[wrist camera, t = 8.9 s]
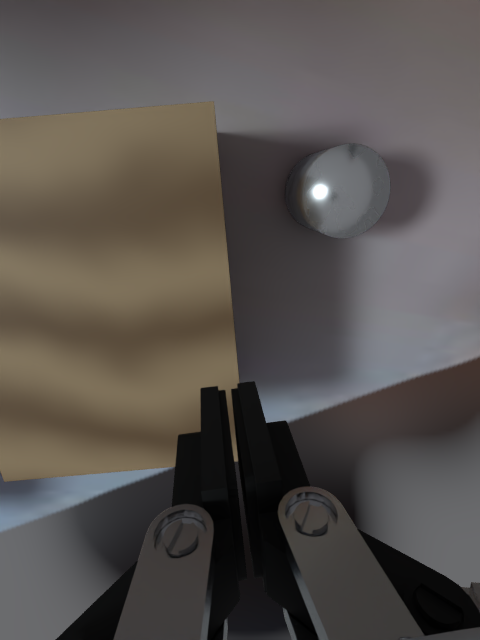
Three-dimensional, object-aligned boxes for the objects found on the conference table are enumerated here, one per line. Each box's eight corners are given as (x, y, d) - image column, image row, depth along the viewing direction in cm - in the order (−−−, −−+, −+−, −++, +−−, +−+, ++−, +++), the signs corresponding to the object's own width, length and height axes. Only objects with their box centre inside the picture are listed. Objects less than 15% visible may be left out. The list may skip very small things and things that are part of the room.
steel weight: (283, 155, 29) (302, 147, 23) (357, 149, 29) (393, 140, 23) (286, 231, 31) (303, 242, 25) (354, 225, 31) (387, 234, 25)
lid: (-122, 132, 18) (-136, 130, 18) (214, 104, 18) (213, 101, 18) (10, 473, 26) (4, 481, 25) (245, 452, 26) (246, 460, 25)
